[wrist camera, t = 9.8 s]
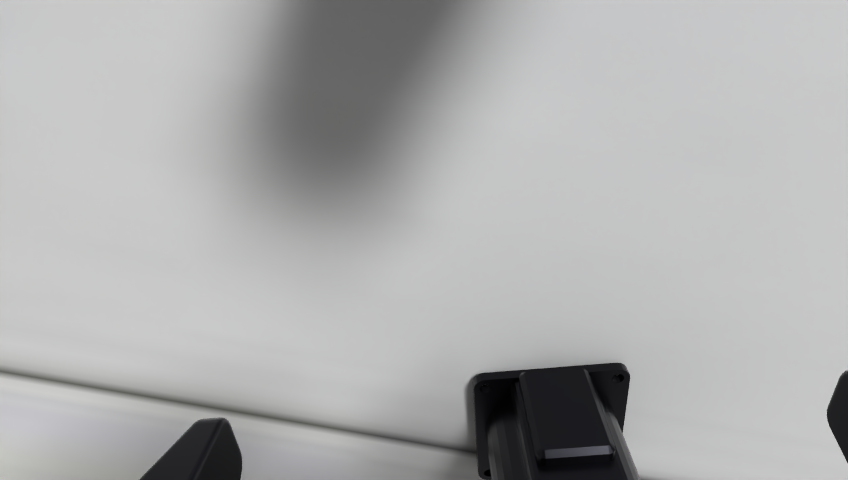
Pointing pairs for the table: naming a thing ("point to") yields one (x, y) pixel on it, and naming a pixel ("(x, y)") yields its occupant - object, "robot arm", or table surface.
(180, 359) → the table surface
